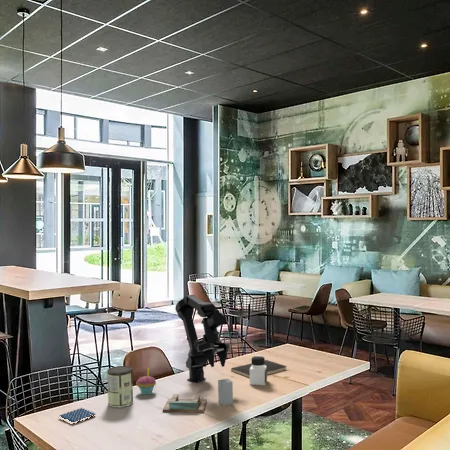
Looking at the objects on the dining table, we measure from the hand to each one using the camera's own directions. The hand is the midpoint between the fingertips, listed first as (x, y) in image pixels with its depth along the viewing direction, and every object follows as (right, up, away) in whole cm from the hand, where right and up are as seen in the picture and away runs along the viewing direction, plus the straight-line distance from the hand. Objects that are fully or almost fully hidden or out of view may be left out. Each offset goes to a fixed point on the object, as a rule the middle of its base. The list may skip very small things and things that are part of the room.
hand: (218, 366), depth 208 cm
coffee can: (-40, -13, -9) cm, 43 cm away
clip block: (+3, -12, -11) cm, 16 cm away
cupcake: (-32, -13, +4) cm, 34 cm away
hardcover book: (+20, -12, +34) cm, 41 cm away
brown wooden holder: (-13, -12, -14) cm, 22 cm away
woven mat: (-54, -13, -23) cm, 60 cm away
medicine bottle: (+18, -12, +14) cm, 26 cm away
